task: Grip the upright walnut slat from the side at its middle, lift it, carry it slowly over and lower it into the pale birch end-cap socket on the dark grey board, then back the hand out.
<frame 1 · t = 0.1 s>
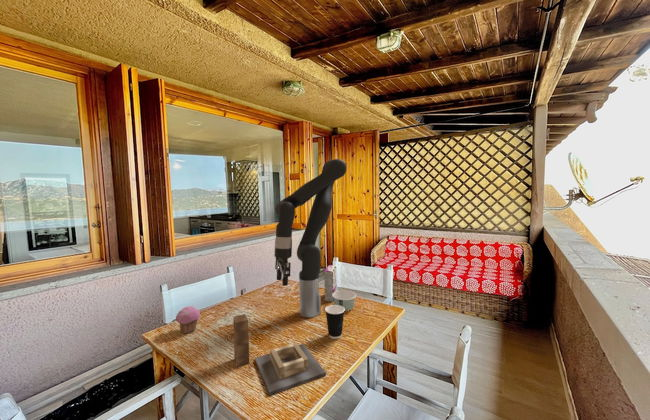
hand: (281, 282, 120), 17 cm above the table, tool pointing down, fingers open, 8 cm apart
dixie cup: (335, 336, 108), on the table
candy bar box: (330, 298, 146), on the table
food container: (344, 307, 134), on the table
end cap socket: (288, 367, 88), on the table
walnut slat: (241, 360, 92), on the table
cupcake: (188, 331, 112), on the table
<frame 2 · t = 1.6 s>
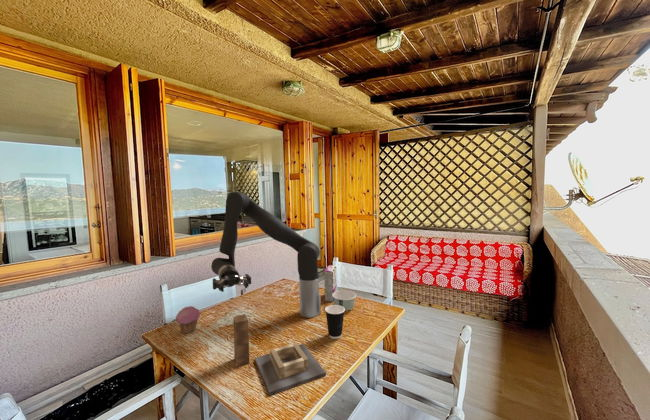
hand: (234, 287, 100), 22 cm above the table, tool horizontal, fingers open, 8 cm apart
nothing on the table moved.
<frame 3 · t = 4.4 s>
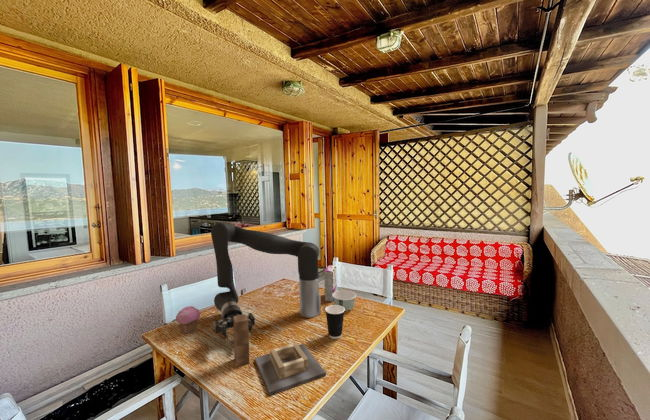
hand: (238, 331, 97), 8 cm above the table, tool horizontal, fingers open, 8 cm apart
nothing on the table moved.
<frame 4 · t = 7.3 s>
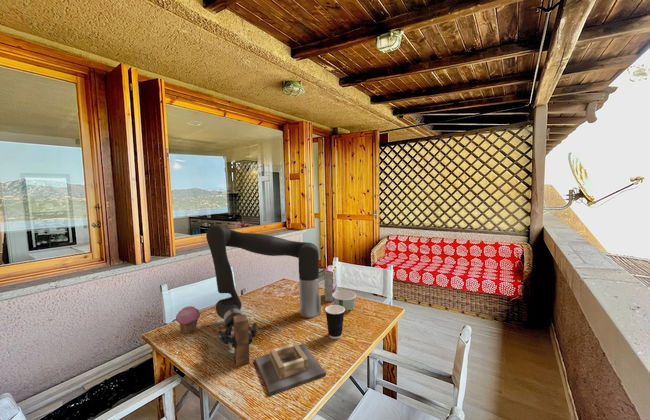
hand: (242, 343, 89), 8 cm above the table, tool horizontal, fingers closed on walnut slat, 4 cm apart
walnut slat: (242, 360, 92), on the table, touching gripper
everything else where it was.
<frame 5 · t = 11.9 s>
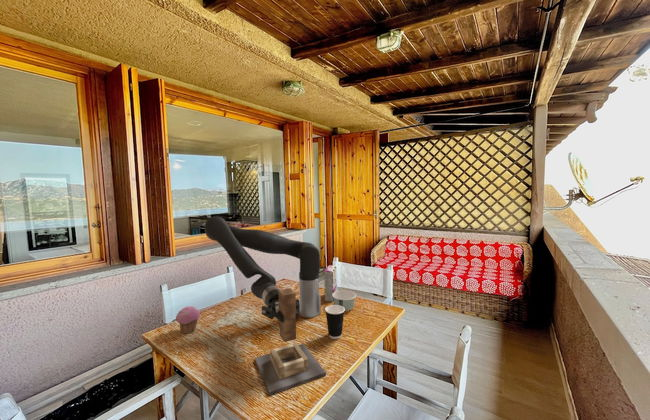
hand: (290, 317, 85), 18 cm above the table, tool horizontal, fingers closed on walnut slat, 4 cm apart
walnut slat: (287, 336, 87), point 10 cm above the table, touching gripper
everything else where it was.
when the fingers open (10 cm above the table, at t = 16.5 s): walnut slat drops 1 cm, resting on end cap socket.
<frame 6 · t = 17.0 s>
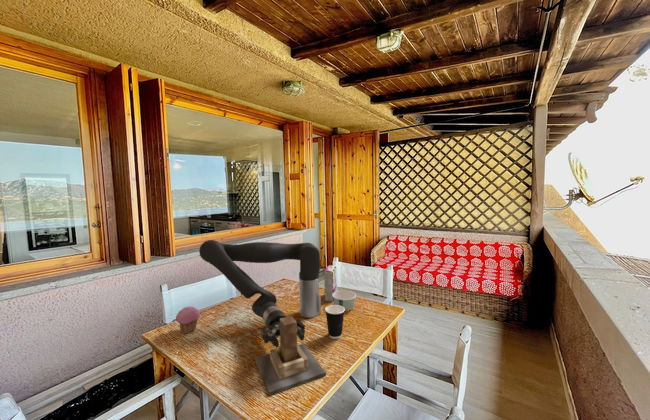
hand: (290, 341, 86), 10 cm above the table, tool horizontal, fingers open, 8 cm apart
walnut slat: (288, 364, 88), point 1 cm above the table, touching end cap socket
everything else where it was.
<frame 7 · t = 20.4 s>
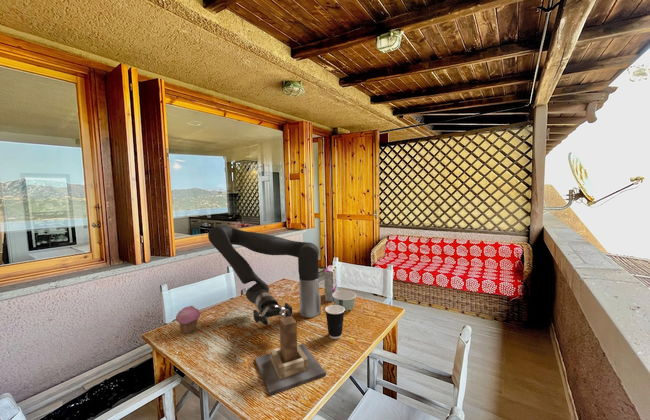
hand: (278, 320, 97), 11 cm above the table, tool horizontal, fingers open, 8 cm apart
nothing on the table moved.
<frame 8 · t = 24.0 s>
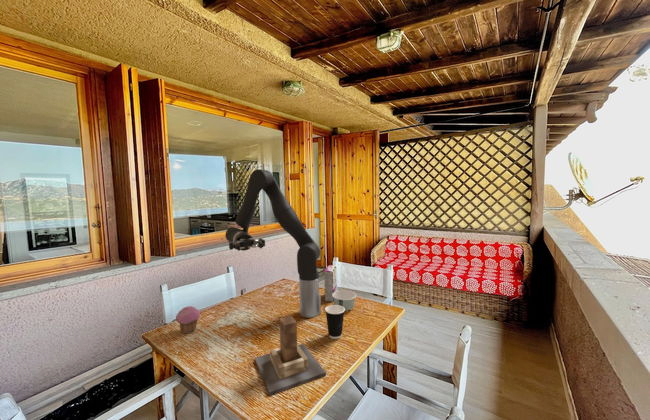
hand: (250, 246, 106), 36 cm above the table, tool horizontal, fingers open, 8 cm apart
nothing on the table moved.
at the end: walnut slat 0.1 cm off-centre on the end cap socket, point 1.0 cm above the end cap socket's base; walnut slat tilted 0°; the gripper is holding nothing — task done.
